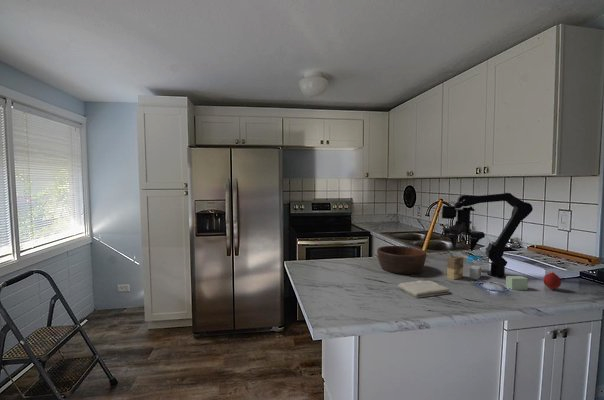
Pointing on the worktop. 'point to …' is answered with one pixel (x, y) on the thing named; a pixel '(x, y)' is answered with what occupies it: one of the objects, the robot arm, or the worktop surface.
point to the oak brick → (454, 273)
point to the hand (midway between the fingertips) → (462, 249)
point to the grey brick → (475, 272)
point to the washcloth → (423, 288)
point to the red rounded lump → (552, 280)
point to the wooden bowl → (401, 259)
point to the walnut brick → (455, 262)
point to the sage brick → (516, 282)
